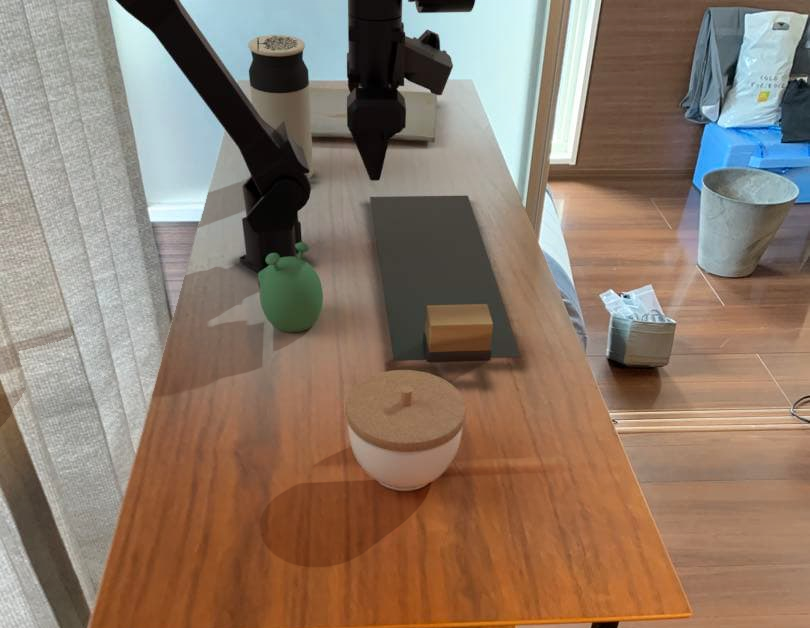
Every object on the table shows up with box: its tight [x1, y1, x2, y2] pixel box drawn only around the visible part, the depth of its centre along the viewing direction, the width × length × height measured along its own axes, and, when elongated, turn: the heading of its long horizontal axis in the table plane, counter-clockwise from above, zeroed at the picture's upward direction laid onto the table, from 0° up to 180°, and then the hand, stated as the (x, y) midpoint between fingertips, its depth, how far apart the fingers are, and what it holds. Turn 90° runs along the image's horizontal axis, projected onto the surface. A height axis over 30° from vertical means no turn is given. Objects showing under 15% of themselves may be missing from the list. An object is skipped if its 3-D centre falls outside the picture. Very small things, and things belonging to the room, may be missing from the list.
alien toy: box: [257, 241, 324, 333], centre depth 91 cm, size 7×8×10 cm
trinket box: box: [345, 369, 467, 492], centre depth 76 cm, size 11×11×9 cm
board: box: [369, 195, 522, 362], centre depth 104 cm, size 40×14×1 cm, turn 5°
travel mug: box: [247, 34, 314, 179], centre depth 116 cm, size 8×8×18 cm
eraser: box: [423, 304, 493, 363], centre depth 89 cm, size 4×7×4 cm, turn 95°
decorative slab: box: [309, 86, 438, 143], centre depth 138 cm, size 27×21×2 cm
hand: (374, 163), depth 99 cm, fingers open, 9 cm apart
